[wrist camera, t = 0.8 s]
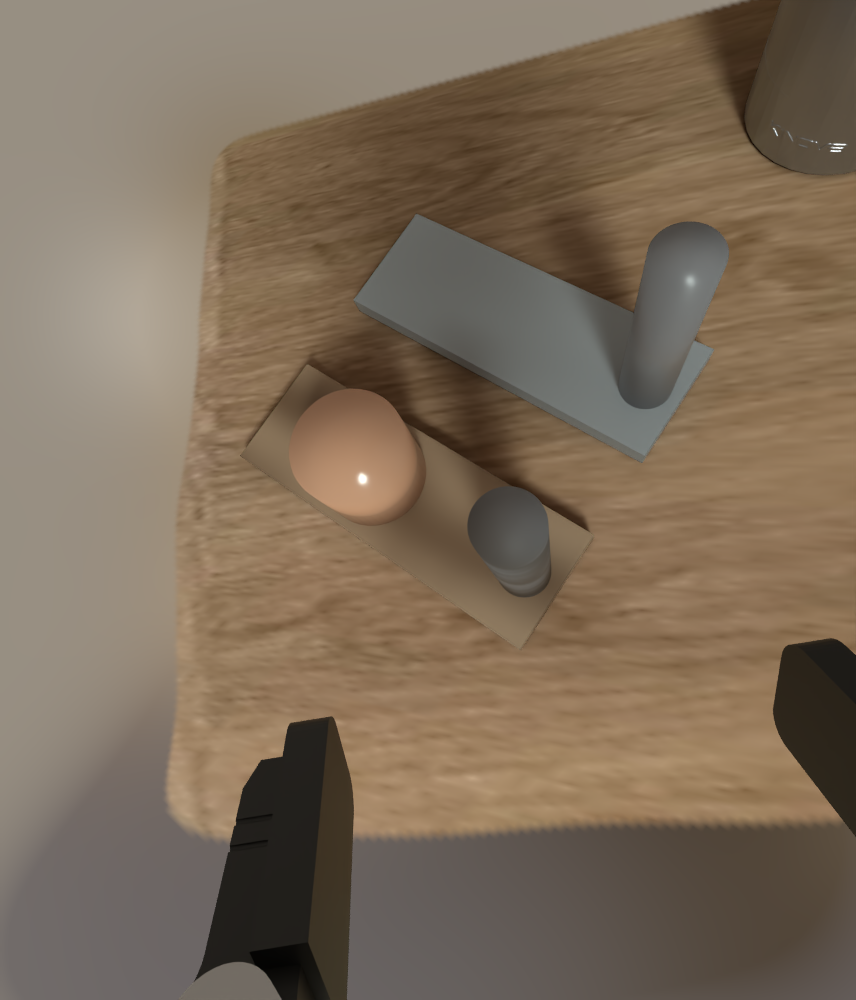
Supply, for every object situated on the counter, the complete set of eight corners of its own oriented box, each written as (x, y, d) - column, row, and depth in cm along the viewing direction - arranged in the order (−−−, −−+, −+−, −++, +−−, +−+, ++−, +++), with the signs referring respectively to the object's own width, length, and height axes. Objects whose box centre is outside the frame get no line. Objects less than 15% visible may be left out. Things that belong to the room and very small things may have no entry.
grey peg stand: (420, 226, 39) (364, 46, 28) (708, 360, 33) (789, 200, 22) (359, 310, 39) (275, 161, 27) (642, 463, 32) (688, 354, 21)
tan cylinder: (364, 407, 35) (335, 369, 31) (446, 457, 34) (428, 424, 29) (305, 491, 35) (266, 464, 30) (386, 546, 33) (357, 527, 28)
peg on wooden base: (314, 372, 38) (209, 248, 27) (592, 539, 32) (613, 471, 20) (249, 462, 38) (112, 373, 26) (521, 650, 31) (500, 644, 20)
